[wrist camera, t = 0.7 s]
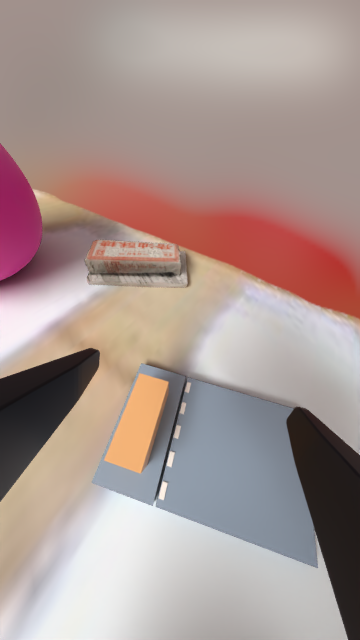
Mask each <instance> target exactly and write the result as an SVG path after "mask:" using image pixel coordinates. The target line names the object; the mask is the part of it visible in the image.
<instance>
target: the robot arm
mask: <svg viewBox="0 0 360 640" xmlns="http://www.w3.org/2000/svg"><path fill="white" fill-rule="evenodd" d="M99 357H100V352H99V350H96V349H93V348H88V349H85V350H83V351H80V352H77V353H74V354H71V355H68V356H65V357H62V358H59V359H56V360H54V361H51V362H48V363H45V364H42V365H39V366H36V367H33V368H30V369H27V370H25V371H22V372H19V373H16V374H13V375H10V376H7V377H4V378H1V379H0V502H1V500H2V499H3V498H4V496H5V495H6V494H7V492H8V491H9V490H10V489H11V487H12V486H13V485H14V483H15V482H16V481H17V479H18V478H19V477H20V476H21V474H22V473H23V472H24V470H25V469H26V468H27V466H28V465H29V464H30V463H31V461H32V460H33V459H34V457H35V456H36V455H37V453H38V452H39V451H40V450H41V448H42V447H43V446H44V444H45V443H46V442H47V440H48V439H49V438H50V437H51V435H52V434H53V433H54V431H55V430H56V429H57V427H58V426H59V425H60V424H61V422H62V421H63V420H64V418H65V417H66V416H67V414H68V413H69V412H70V411H71V409H72V408H73V407H74V405H75V404H76V403H77V401H78V400H79V398H80V397H81V395H82V394H83V392H84V390H85V389H86V387H87V386H88V384H89V382H90V381H91V379H92V377H93V376H94V374H95V373H96V371H97V369H98V367H99ZM286 425H287V430H288V434H289V439H290V444H291V448H292V453H293V458H294V462H295V466H296V469H297V473H298V476H299V479H300V482H301V486H302V489H303V492H304V496H305V499H306V502H307V506H308V509H309V512H310V515H311V519H312V522H313V525H314V529H315V532H316V535H317V538H318V542H319V545H320V548H321V552H322V555H323V558H324V561H325V565H326V568H327V571H328V575H329V578H330V581H331V585H332V588H333V591H334V594H335V598H336V601H337V604H338V608H339V611H340V614H341V617H342V621H343V624H344V627H345V631H346V634H347V637H348V640H360V455H359V454H358V453H356V452H355V451H354V450H353V449H352V448H351V447H350V446H349V445H347V444H346V443H345V442H344V441H343V440H342V439H341V438H339V437H338V436H337V435H336V434H335V433H334V432H333V431H331V430H330V429H329V428H328V427H327V426H326V425H325V424H323V423H322V422H321V421H320V420H319V419H318V418H317V417H316V416H314V415H313V414H312V413H311V412H310V411H309V410H307V409H305V408H301V407H295V408H294V409H293V411H292V412H291V414H290V415H289V416H288V418H287V420H286Z"/></svg>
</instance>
